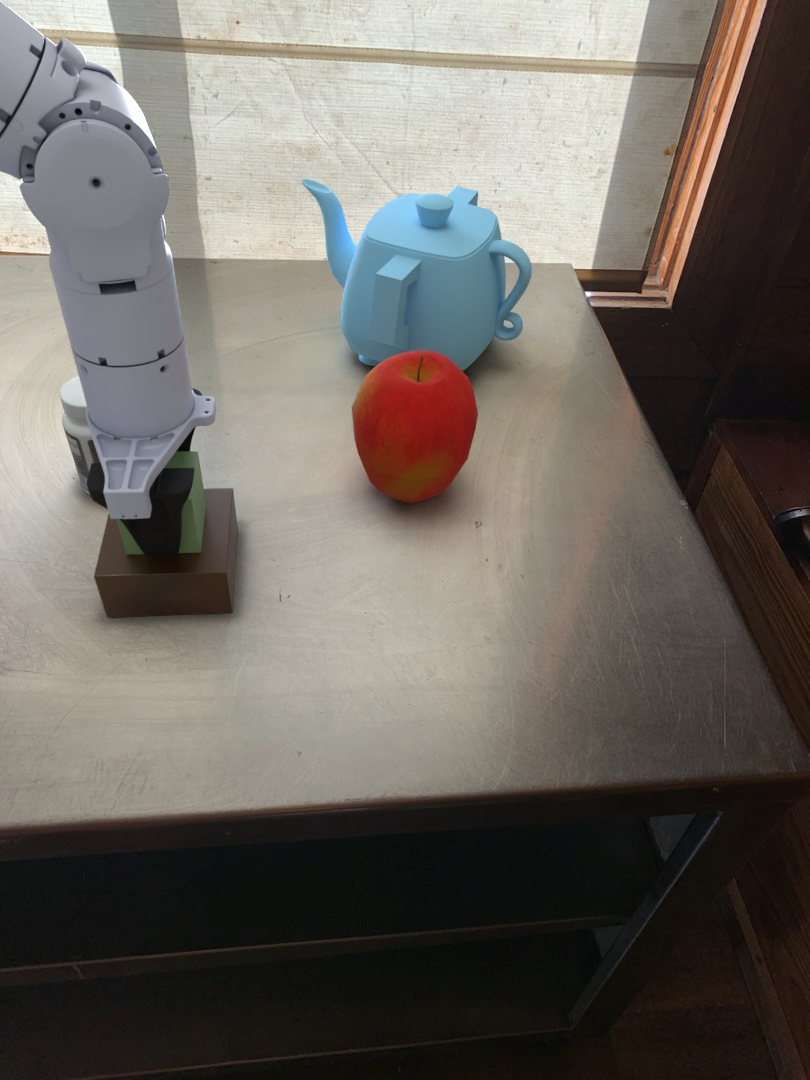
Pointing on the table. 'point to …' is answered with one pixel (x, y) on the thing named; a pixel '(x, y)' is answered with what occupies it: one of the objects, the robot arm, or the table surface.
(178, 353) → the robot arm
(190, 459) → the green block
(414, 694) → the table surface
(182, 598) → the walnut base
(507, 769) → the table surface
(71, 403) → the pill bottle
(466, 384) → the apple
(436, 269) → the teapot
